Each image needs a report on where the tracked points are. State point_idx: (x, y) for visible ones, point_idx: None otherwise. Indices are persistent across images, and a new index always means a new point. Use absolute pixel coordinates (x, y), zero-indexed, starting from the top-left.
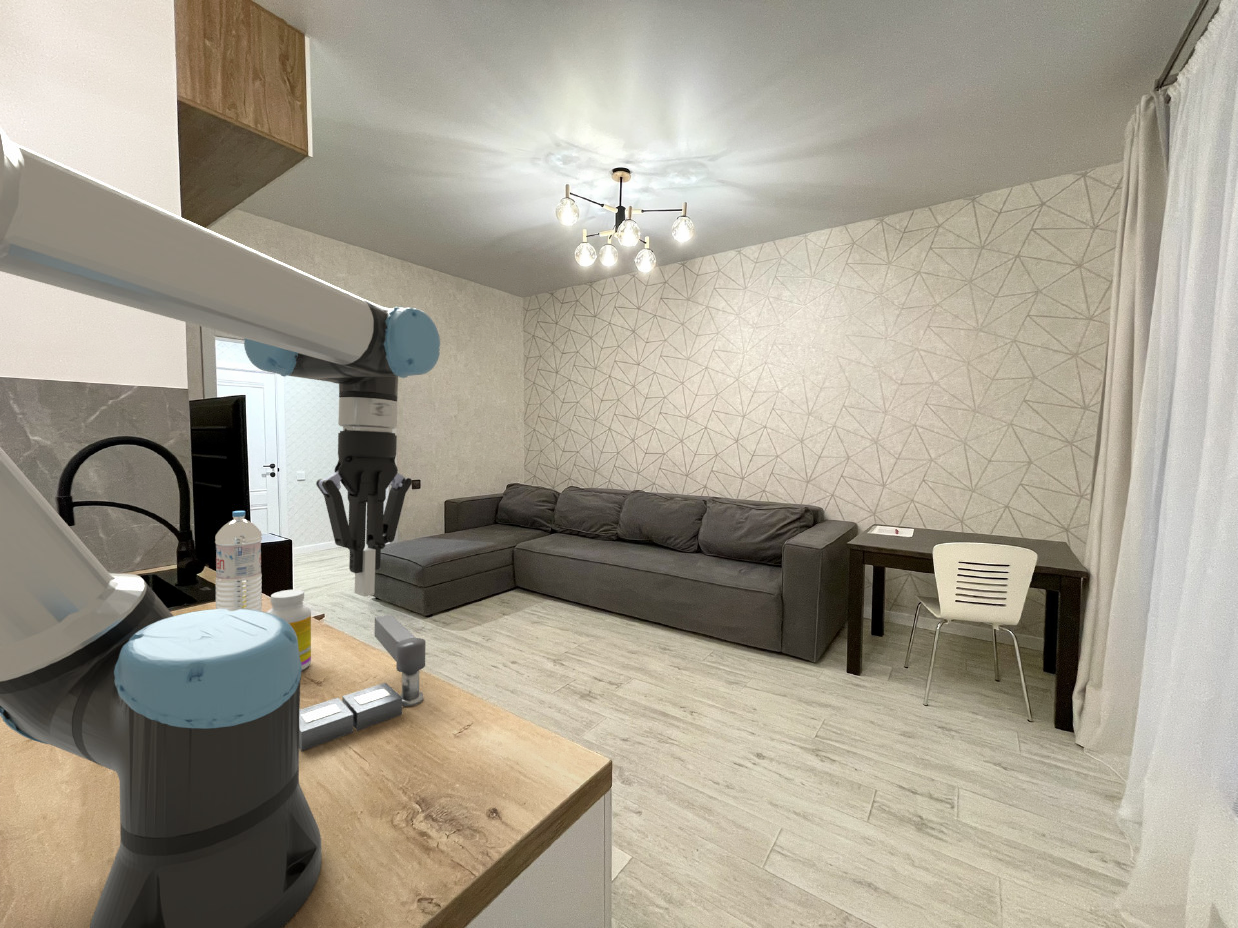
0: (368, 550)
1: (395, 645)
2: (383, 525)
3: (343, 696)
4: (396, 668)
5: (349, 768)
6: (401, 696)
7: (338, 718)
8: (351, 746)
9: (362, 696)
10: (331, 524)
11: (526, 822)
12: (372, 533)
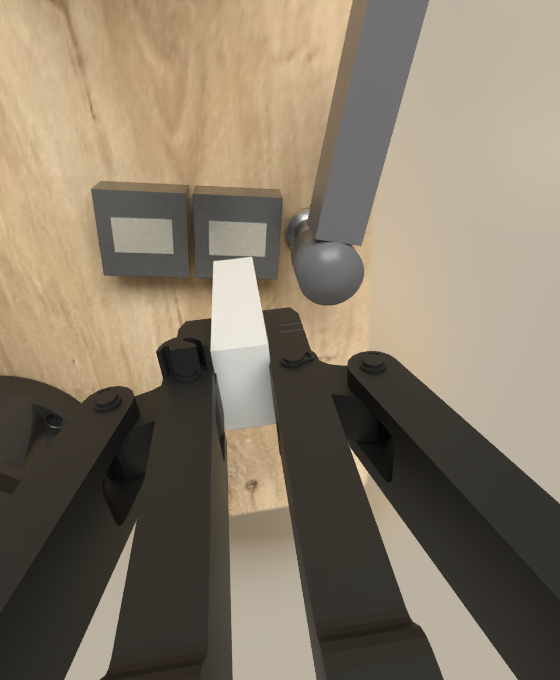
0: (242, 427)
1: (316, 218)
2: (393, 429)
3: (194, 196)
4: (293, 245)
5: (161, 344)
6: (298, 220)
7: (164, 274)
8: (178, 299)
9: (222, 227)
10: (10, 507)
11: (266, 505)
12: (282, 460)
